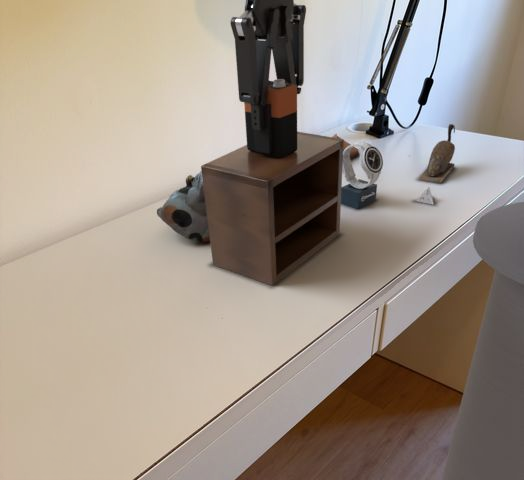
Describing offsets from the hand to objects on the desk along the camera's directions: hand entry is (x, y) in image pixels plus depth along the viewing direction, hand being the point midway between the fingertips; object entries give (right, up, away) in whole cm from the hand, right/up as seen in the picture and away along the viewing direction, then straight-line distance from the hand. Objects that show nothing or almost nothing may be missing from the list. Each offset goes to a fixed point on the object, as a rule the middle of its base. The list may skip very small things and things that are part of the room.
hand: (274, 145), depth 78 cm
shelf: (+1, -13, +11) cm, 17 cm away
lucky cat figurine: (-12, -8, +19) cm, 24 cm away
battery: (0, -1, +1) cm, 1 cm away
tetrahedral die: (+30, -2, +23) cm, 38 cm away
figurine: (+36, +8, +35) cm, 51 cm away
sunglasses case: (+14, +12, +42) cm, 46 cm away
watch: (+17, -2, +24) cm, 30 cm away
